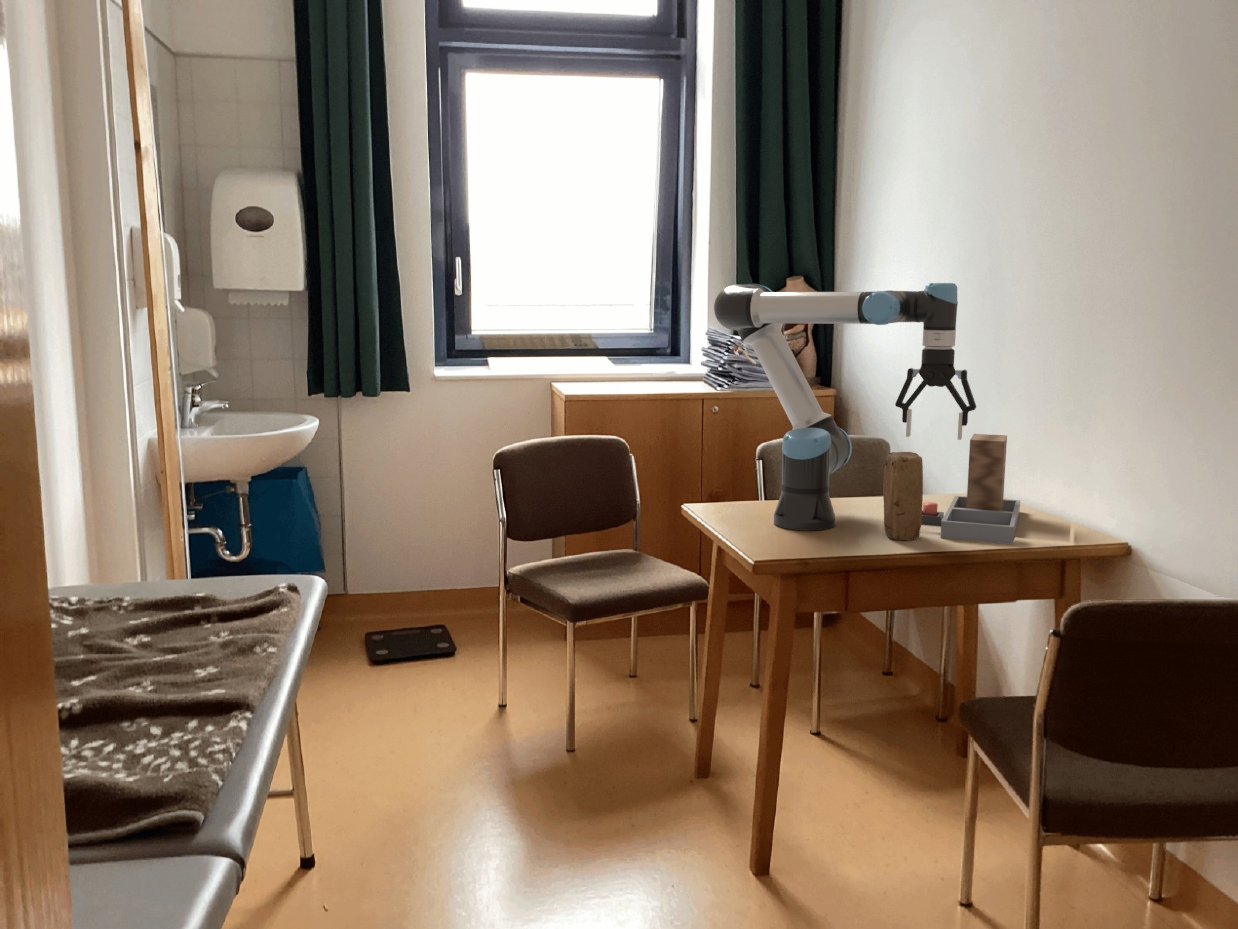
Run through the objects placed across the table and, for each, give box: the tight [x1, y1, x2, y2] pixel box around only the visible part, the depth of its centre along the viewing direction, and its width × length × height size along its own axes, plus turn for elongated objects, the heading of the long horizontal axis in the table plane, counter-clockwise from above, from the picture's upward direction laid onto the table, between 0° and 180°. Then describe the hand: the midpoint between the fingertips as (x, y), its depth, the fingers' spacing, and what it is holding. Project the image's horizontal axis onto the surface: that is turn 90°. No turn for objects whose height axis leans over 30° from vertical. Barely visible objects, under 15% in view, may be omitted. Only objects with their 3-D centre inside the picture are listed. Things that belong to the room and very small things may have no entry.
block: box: [882, 451, 924, 541], centre depth 247 cm, size 11×8×20 cm
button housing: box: [921, 510, 945, 526], centre depth 259 cm, size 6×6×3 cm
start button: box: [922, 501, 938, 516], centre depth 259 cm, size 3×3×4 cm
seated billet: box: [966, 433, 1008, 511], centre depth 264 cm, size 8×11×20 cm
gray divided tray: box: [940, 495, 1021, 545], centre depth 258 cm, size 16×32×4 cm, turn 157°
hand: (933, 437), depth 256 cm, fingers open, 11 cm apart
